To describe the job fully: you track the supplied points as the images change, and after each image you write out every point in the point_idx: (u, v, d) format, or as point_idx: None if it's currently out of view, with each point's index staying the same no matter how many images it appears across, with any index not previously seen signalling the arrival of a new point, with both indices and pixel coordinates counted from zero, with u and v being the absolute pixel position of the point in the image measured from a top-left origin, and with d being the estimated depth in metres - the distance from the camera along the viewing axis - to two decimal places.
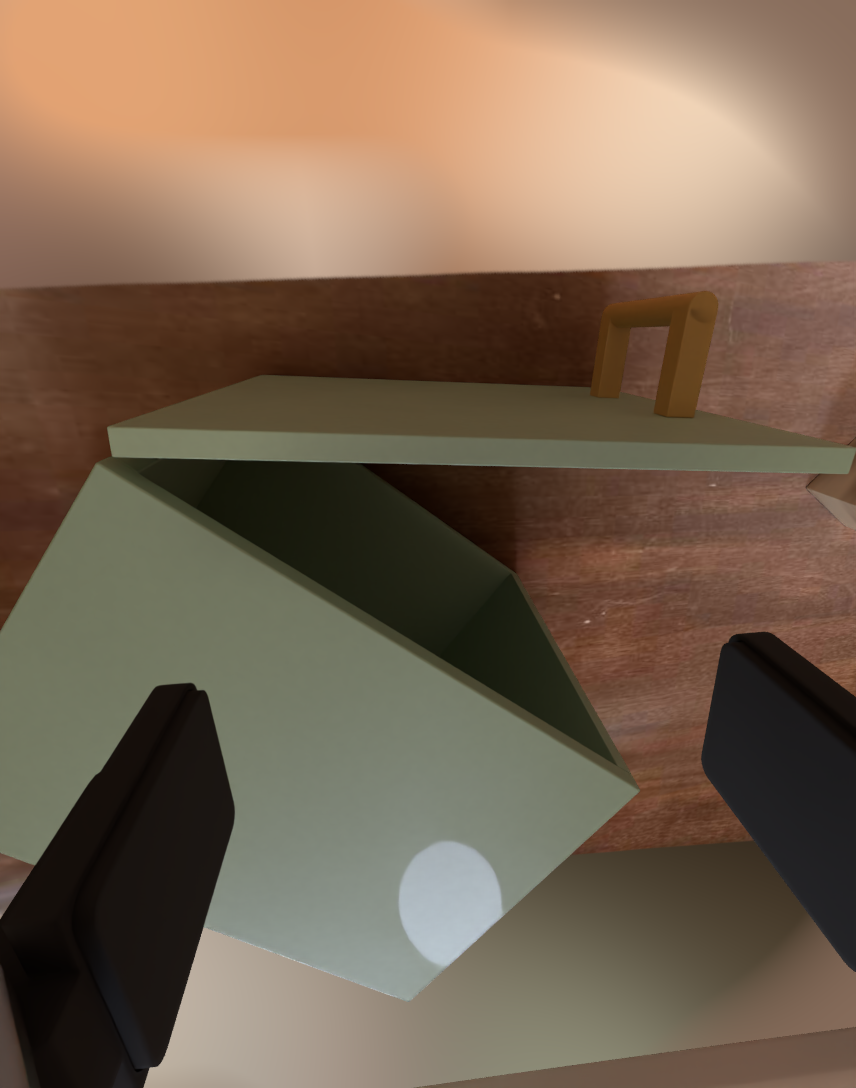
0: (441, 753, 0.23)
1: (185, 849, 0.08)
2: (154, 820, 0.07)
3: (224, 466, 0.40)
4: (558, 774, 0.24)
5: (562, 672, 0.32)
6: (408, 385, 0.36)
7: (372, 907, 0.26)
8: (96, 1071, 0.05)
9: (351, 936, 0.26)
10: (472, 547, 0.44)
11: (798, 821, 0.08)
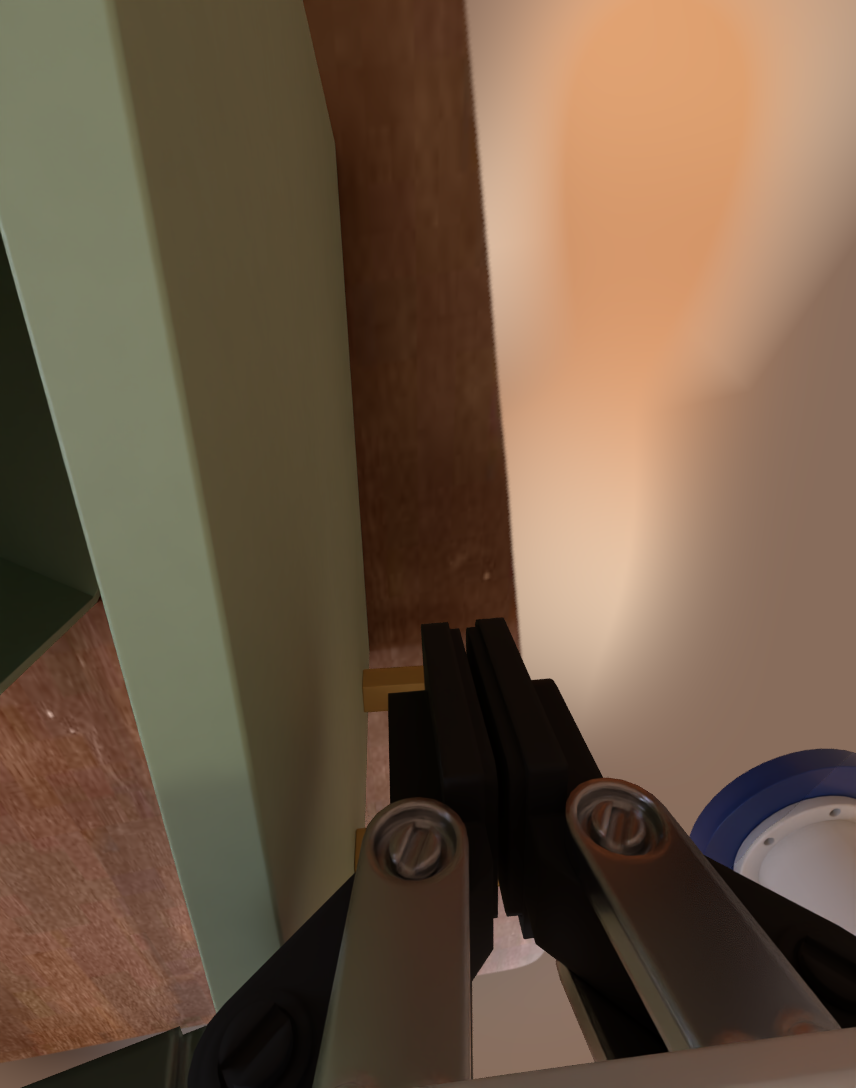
0: None
1: None
2: None
3: None
4: None
5: None
6: (347, 406, 0.23)
7: None
8: None
9: None
10: None
11: None
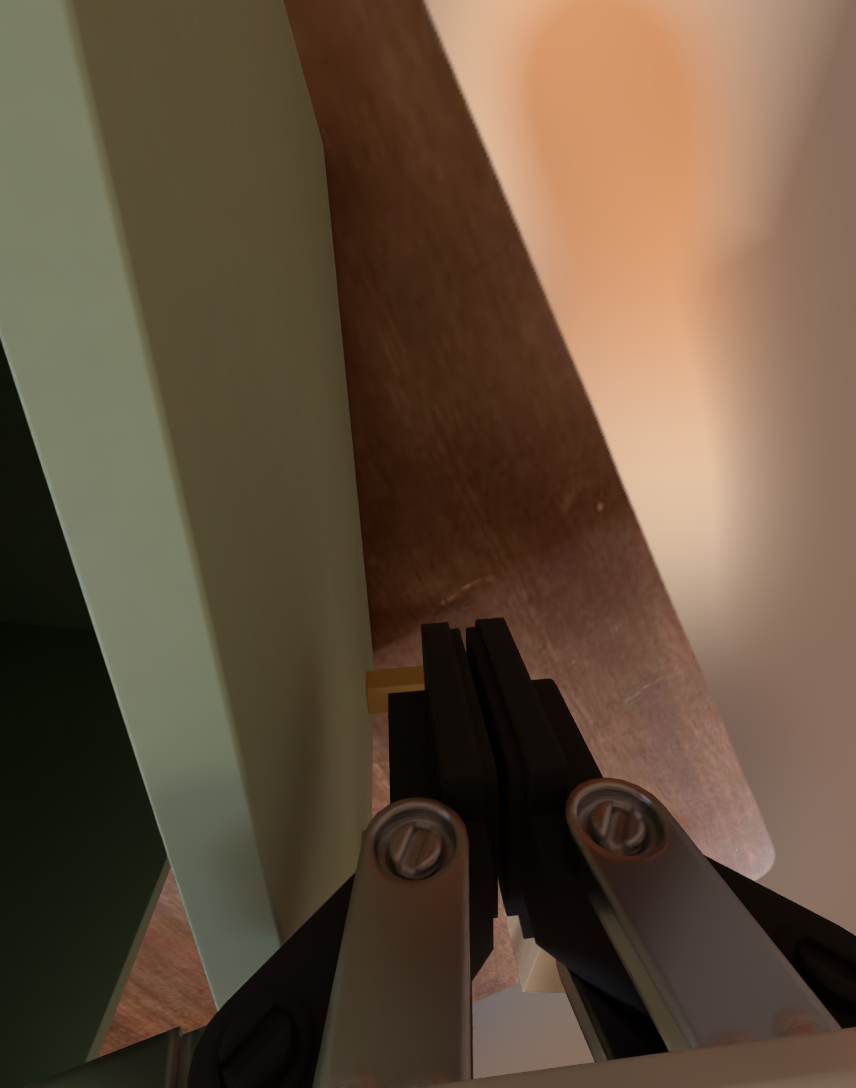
0: None
1: None
2: None
3: None
4: None
5: (148, 887, 0.17)
6: (343, 409, 0.23)
7: None
8: None
9: None
10: None
11: None
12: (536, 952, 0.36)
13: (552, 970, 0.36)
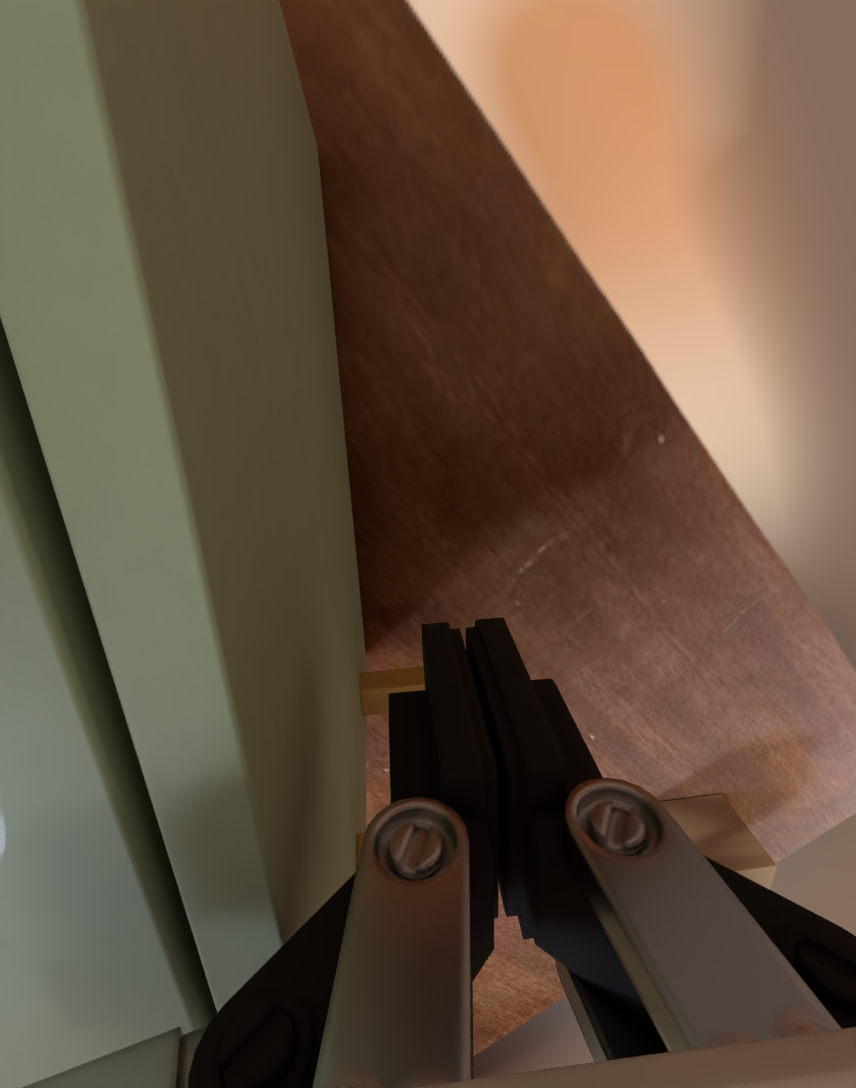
0: None
1: None
2: None
3: None
4: None
5: None
6: (337, 410, 0.23)
7: None
8: None
9: None
10: None
11: None
12: None
13: None
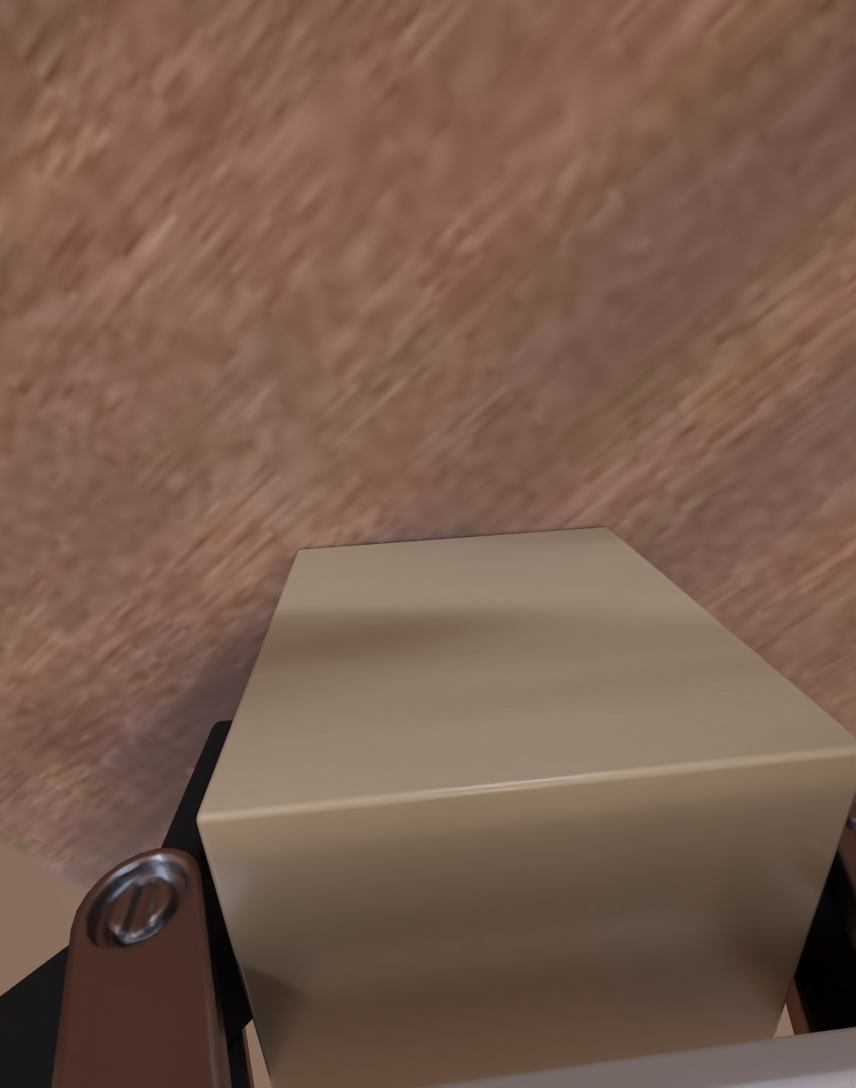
0: None
1: None
2: None
3: None
4: None
5: None
6: None
7: None
8: None
9: None
10: None
11: None
12: (646, 754, 0.05)
13: (484, 907, 0.05)
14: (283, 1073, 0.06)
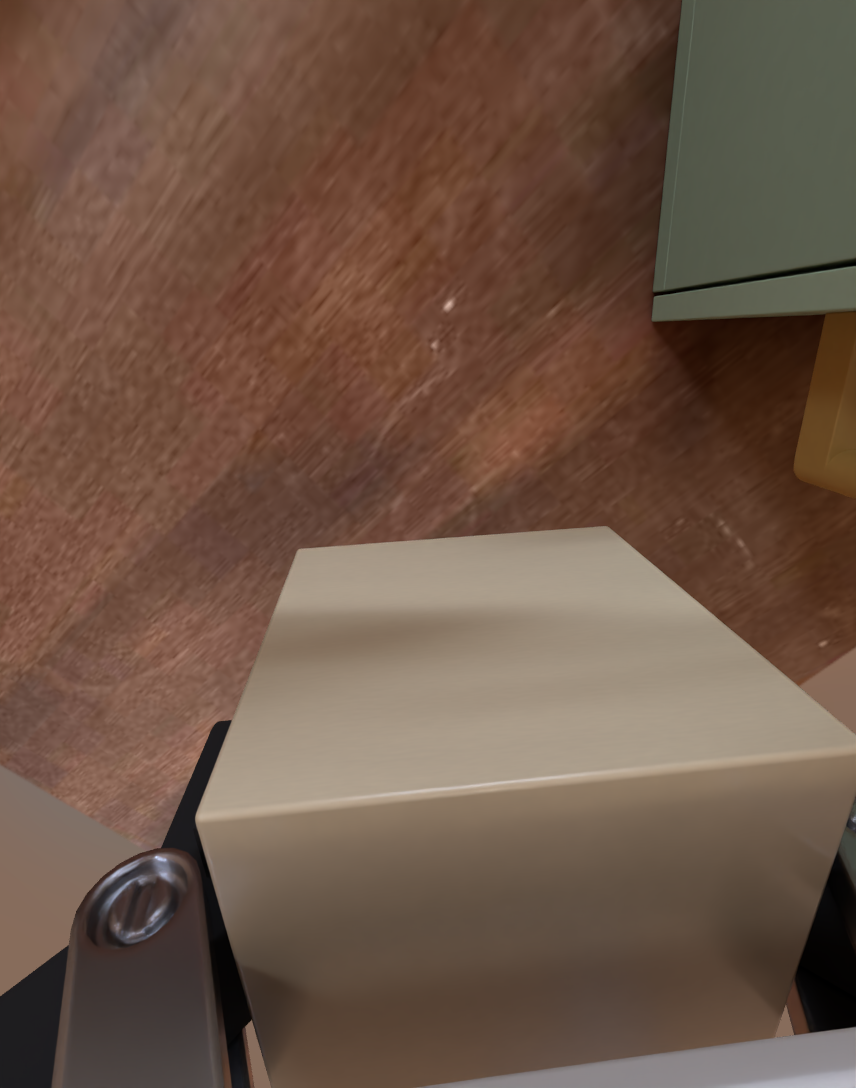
0: None
1: None
2: None
3: None
4: None
5: None
6: None
7: None
8: None
9: None
10: None
11: None
12: (645, 753, 0.05)
13: (485, 908, 0.05)
14: (282, 1074, 0.06)
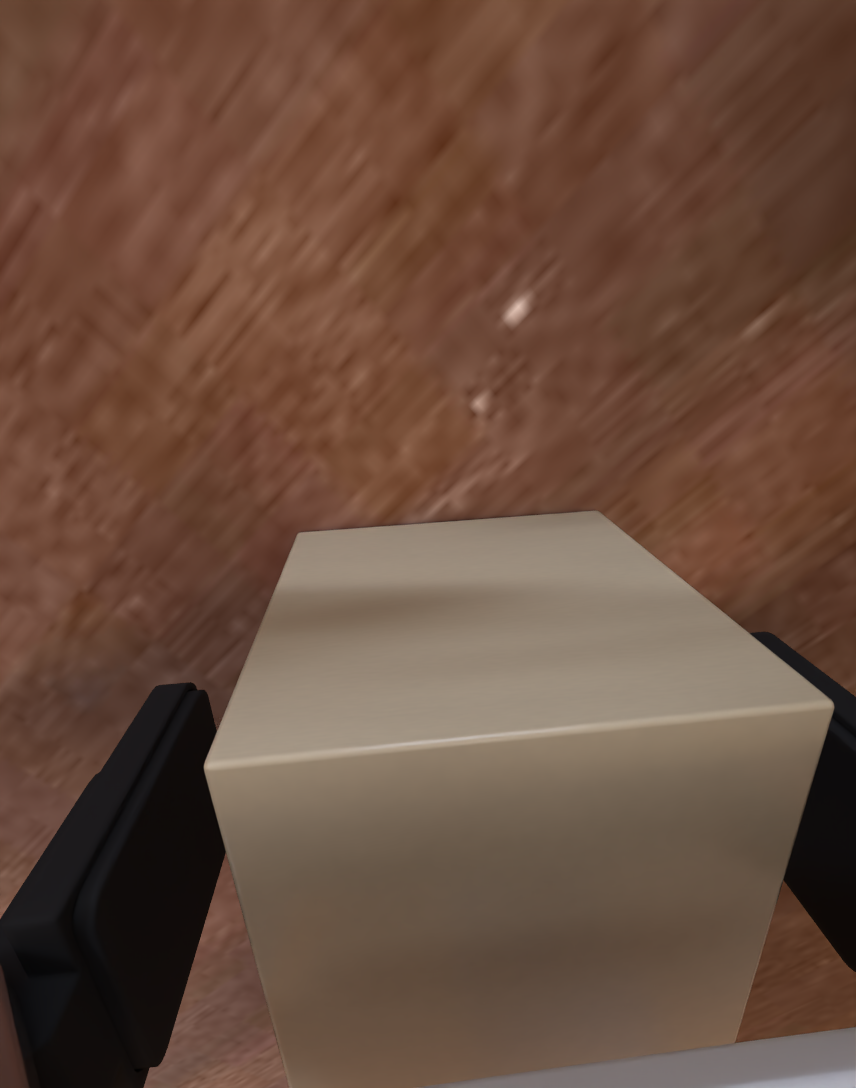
0: None
1: (185, 849, 0.08)
2: (154, 820, 0.07)
3: None
4: None
5: None
6: None
7: None
8: (96, 1071, 0.05)
9: None
10: None
11: None
12: (625, 709, 0.05)
13: (473, 856, 0.05)
14: (285, 1018, 0.06)
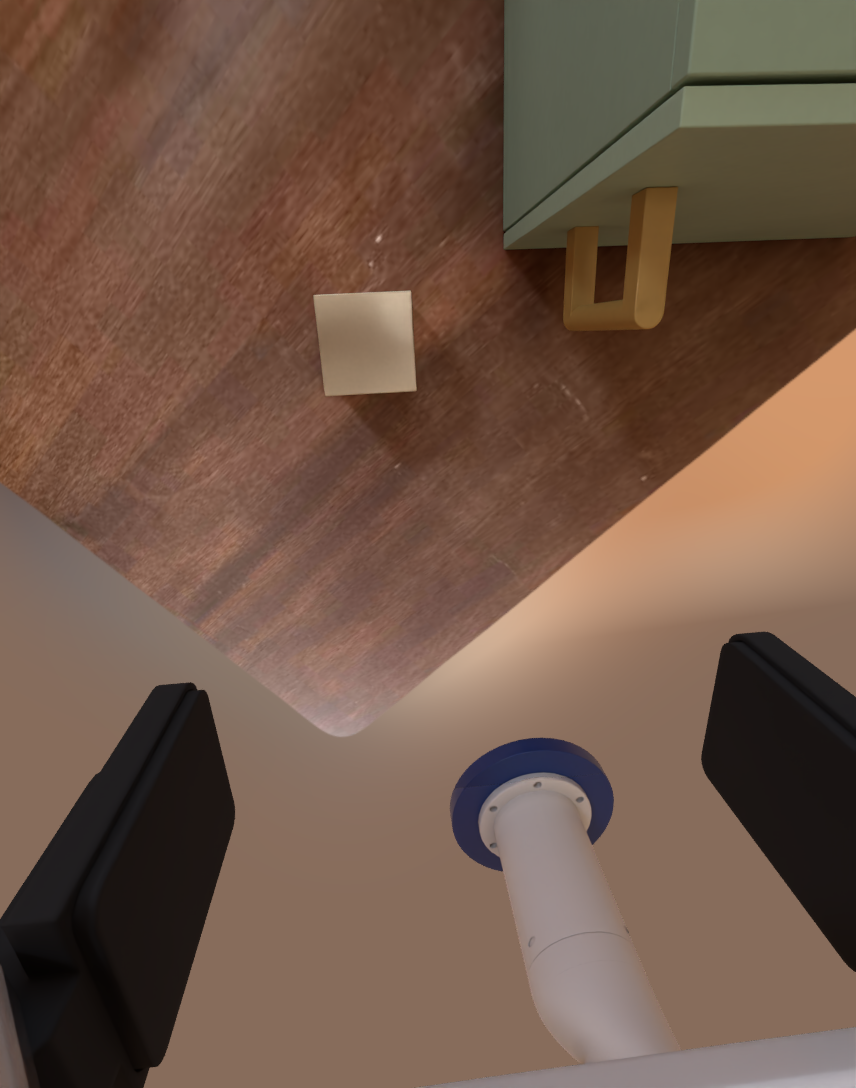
0: None
1: (185, 849, 0.08)
2: (154, 820, 0.07)
3: None
4: (835, 8, 0.15)
5: None
6: (753, 230, 0.34)
7: None
8: (96, 1071, 0.05)
9: None
10: None
11: (798, 821, 0.08)
12: (378, 292, 0.33)
13: (355, 319, 0.33)
14: (323, 361, 0.34)
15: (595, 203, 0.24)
